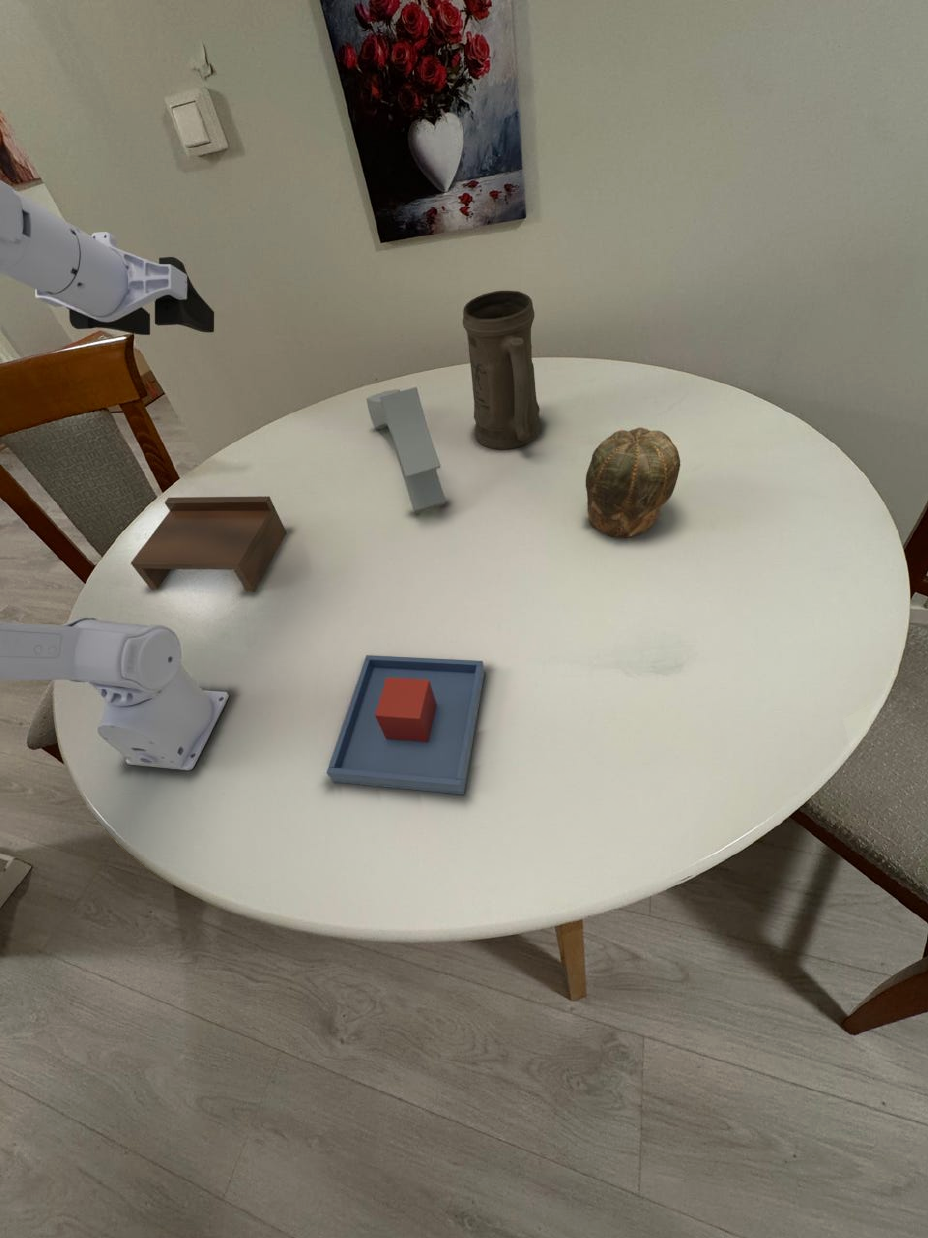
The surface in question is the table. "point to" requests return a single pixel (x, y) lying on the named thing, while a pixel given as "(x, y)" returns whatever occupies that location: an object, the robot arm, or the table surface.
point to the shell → (630, 481)
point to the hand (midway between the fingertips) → (178, 323)
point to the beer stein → (502, 368)
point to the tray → (402, 761)
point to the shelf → (213, 538)
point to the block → (406, 709)
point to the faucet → (410, 444)
